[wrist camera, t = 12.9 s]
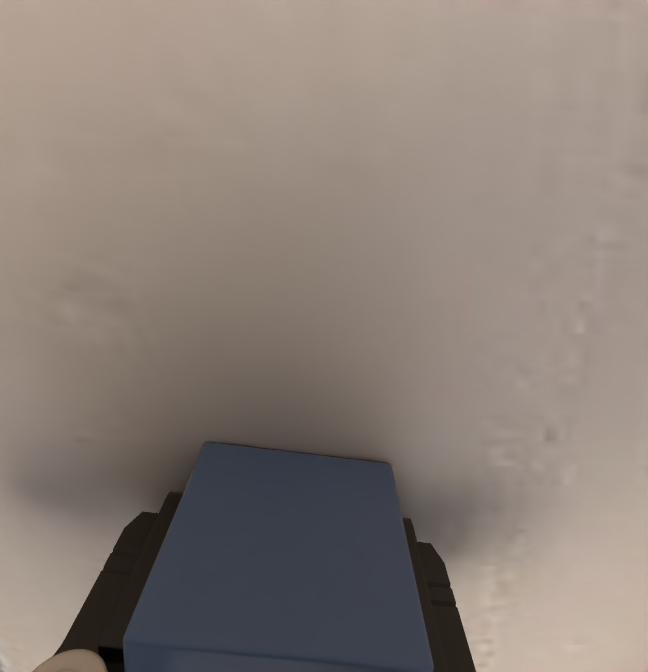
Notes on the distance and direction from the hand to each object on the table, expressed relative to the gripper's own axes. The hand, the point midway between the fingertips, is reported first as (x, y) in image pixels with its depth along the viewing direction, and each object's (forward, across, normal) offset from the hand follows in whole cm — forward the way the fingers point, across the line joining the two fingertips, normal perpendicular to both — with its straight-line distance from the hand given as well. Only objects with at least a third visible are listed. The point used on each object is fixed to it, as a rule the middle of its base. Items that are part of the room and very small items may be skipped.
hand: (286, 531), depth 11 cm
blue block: (0, 0, 0) cm, 0 cm away
